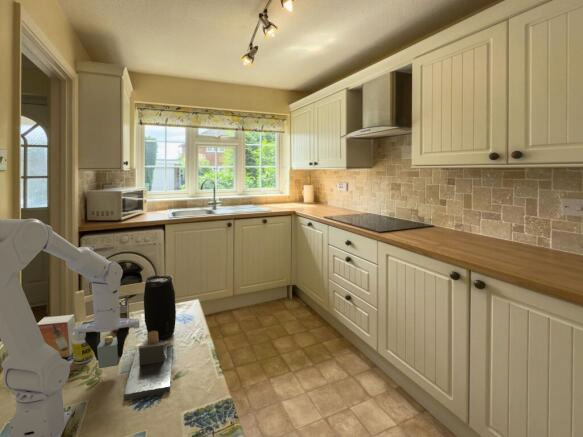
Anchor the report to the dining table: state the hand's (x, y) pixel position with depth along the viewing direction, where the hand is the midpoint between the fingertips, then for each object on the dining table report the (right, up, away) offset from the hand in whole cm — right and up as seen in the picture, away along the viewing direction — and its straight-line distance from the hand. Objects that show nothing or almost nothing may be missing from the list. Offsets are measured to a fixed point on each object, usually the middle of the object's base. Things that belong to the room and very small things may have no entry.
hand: (110, 356), depth 84 cm
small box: (-21, -4, +11) cm, 24 cm away
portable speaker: (+5, -3, +21) cm, 22 cm away
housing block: (0, -2, 0) cm, 2 cm away
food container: (-11, -2, +25) cm, 28 cm away
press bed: (+10, -5, +2) cm, 11 cm away
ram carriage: (+9, -3, +5) cm, 11 cm away
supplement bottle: (-12, -4, +7) cm, 14 cm away
